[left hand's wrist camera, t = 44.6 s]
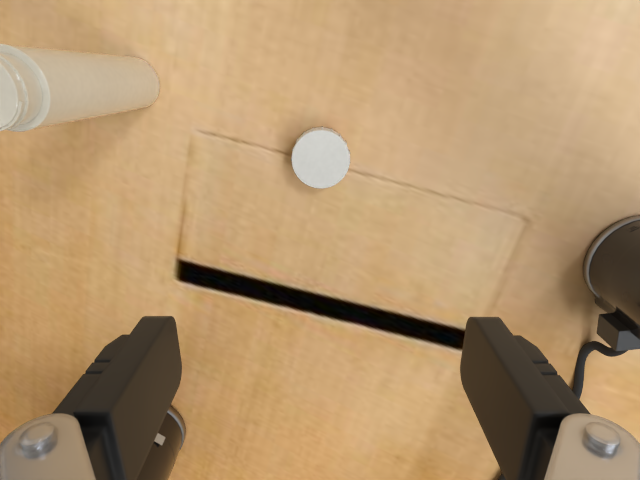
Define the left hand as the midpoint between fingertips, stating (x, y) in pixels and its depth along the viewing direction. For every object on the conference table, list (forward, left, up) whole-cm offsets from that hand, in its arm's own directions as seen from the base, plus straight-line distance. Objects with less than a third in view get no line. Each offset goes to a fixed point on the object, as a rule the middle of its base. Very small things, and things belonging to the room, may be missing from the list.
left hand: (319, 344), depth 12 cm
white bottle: (+8, +15, -28) cm, 33 cm away
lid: (0, 0, -27) cm, 27 cm away
